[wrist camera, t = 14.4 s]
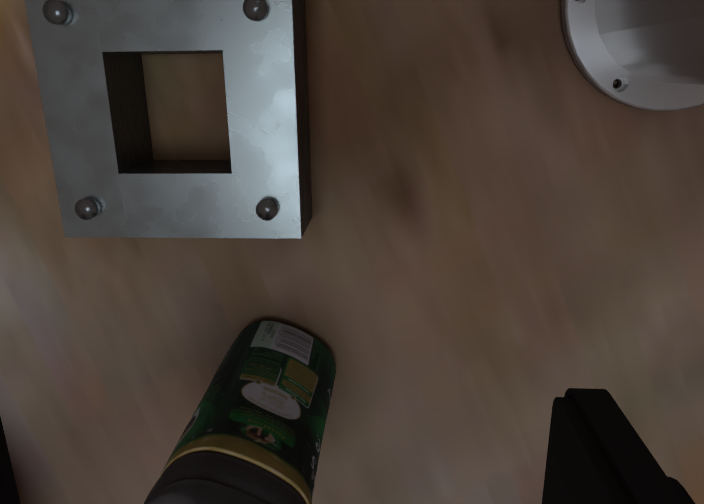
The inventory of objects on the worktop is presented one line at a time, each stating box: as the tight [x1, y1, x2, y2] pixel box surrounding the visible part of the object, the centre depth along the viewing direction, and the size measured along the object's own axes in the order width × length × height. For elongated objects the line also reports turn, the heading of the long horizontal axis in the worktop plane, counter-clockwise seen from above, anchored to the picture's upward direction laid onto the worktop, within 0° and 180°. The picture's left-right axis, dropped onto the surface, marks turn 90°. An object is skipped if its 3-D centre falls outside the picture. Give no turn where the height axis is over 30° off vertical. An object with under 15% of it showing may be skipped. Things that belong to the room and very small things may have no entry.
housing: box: [25, 0, 312, 238], centre depth 33 cm, size 14×14×6 cm
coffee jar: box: [144, 320, 336, 504], centre depth 32 cm, size 10×8×19 cm
